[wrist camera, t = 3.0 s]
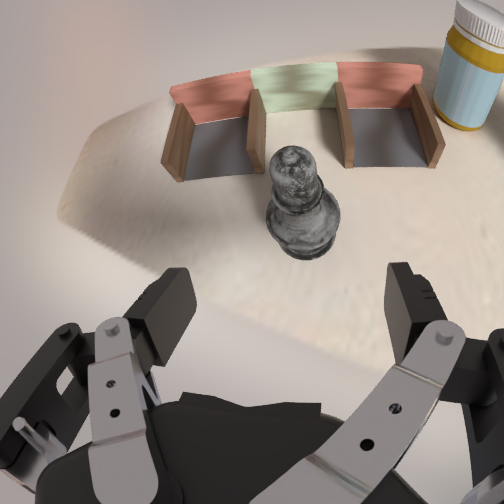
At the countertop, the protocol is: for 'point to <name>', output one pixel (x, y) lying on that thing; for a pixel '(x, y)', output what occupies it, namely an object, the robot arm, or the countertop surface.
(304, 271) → the countertop surface
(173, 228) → the countertop surface
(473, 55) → the bottle
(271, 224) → the grey chess piece
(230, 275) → the countertop surface
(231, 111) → the bay rack
